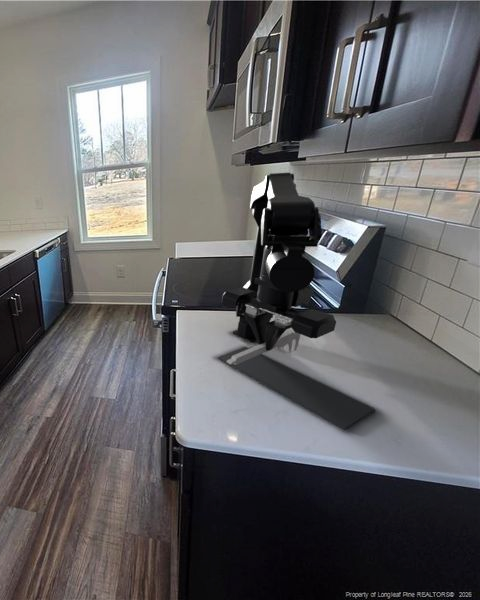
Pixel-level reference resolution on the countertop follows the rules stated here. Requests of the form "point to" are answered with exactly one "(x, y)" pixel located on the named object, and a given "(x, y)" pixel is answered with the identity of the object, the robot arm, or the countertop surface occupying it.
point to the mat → (303, 389)
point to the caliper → (286, 340)
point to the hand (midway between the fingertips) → (265, 348)
